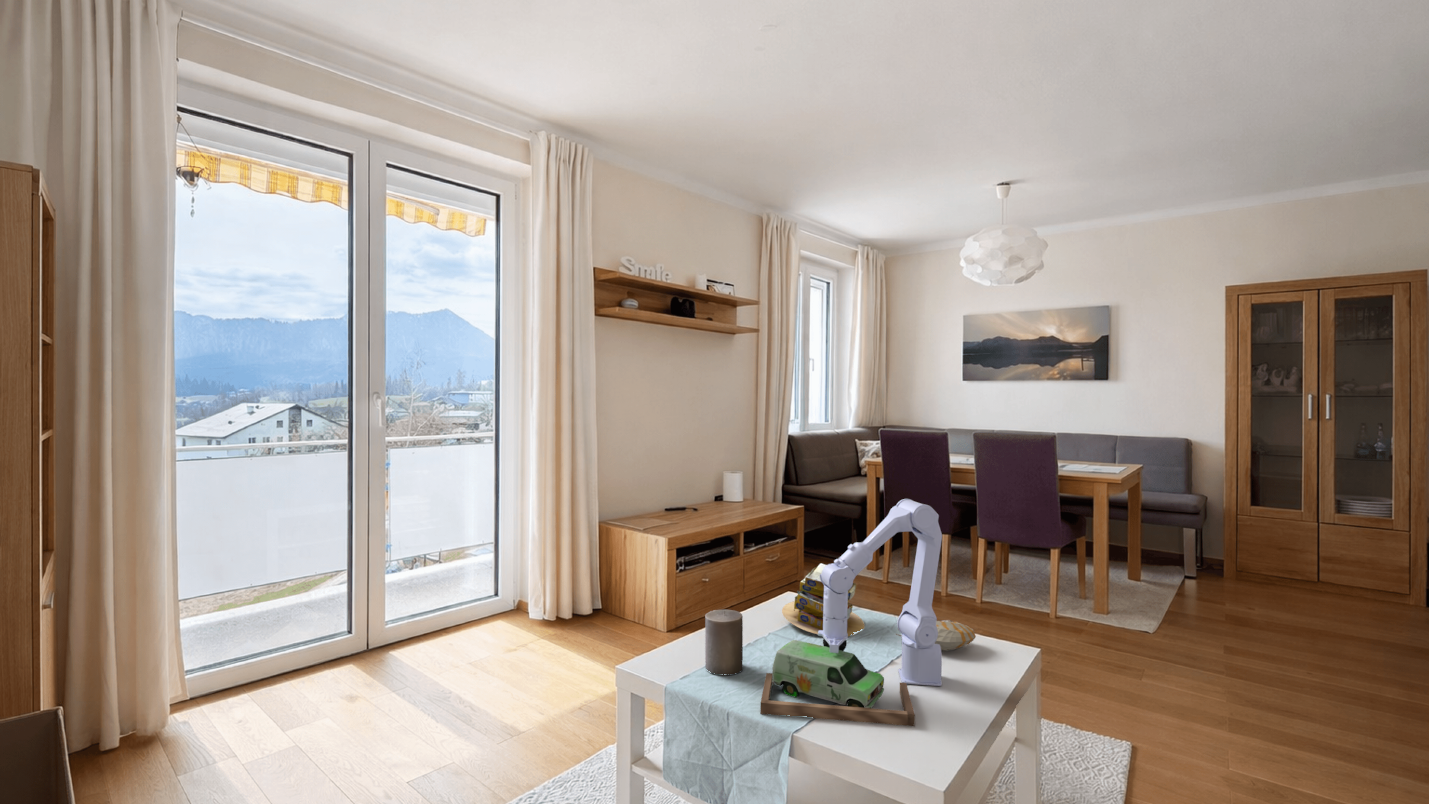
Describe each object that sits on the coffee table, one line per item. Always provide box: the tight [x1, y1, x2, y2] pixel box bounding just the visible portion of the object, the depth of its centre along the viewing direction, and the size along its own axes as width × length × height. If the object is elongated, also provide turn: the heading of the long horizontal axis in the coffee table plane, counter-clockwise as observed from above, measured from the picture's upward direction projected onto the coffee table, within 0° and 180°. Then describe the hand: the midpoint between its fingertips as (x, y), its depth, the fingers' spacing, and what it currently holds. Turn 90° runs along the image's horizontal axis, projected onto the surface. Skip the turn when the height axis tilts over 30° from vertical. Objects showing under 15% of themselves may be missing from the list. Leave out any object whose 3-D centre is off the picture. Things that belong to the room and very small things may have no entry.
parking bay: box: [759, 672, 916, 727], centre depth 160 cm, size 33×16×2 cm, turn 81°
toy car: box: [771, 639, 885, 708], centre depth 163 cm, size 11×25×10 cm, turn 55°
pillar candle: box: [704, 609, 744, 676], centre depth 179 cm, size 10×10×15 cm
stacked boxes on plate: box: [781, 563, 866, 637], centre depth 212 cm, size 25×25×17 cm
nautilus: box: [895, 619, 976, 651], centre depth 195 cm, size 8×22×15 cm
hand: (834, 670), depth 169 cm, fingers closed, pressing on toy car
